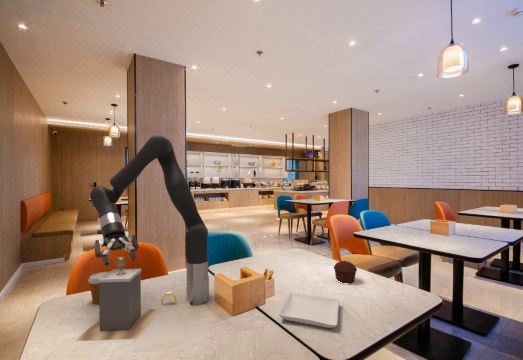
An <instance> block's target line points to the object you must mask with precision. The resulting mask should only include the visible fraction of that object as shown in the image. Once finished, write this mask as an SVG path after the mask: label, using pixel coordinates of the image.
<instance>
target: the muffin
mask: <svg viewBox="0 0 523 360" xmlns="http://www.w3.org/2000/svg"><path fill="white" fill-rule="evenodd" d="M333 269H334V274H335V280H336V279H337V280H338V281H340V282H342V283H352V282H354V283H355V281H356V273H357V272H358V269H357V267H356V266H355V264H354V263H352V262H350V261H348V260H340V261H338V262H336V263H335V264H334V266H333ZM337 280H336V281H337ZM338 281H337V282H338ZM342 283H341V284H342Z"/></svg>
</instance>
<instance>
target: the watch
mask: <svg viewBox="0 0 523 360" xmlns="http://www.w3.org/2000/svg"><path fill="white" fill-rule="evenodd" d="M166 296H173V299H174V303H173V305H176V302H177V295H176V294H175V293H173V291H171V290H169V291H166V292H165V293H164V294H163V296H162V297H161V299H160V302H161V303H160V304H161V305H162V306H164V305H165V303H164V301H163V299H164V297H166Z"/></svg>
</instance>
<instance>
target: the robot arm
mask: <svg viewBox="0 0 523 360" xmlns="http://www.w3.org/2000/svg"><path fill="white" fill-rule="evenodd" d="M156 159H157V161H158V163H159V165H160V167H161V170H162V173H163V179H164V184H165V188H166V191H167V195H168V196H169V198H170V201H171V202H172V204H173V206H174V207H175V209H176V211H178V213H179V214H180V216H181V218H182V219H183V221H184V222H183V223H184V225H185V228H186V233H185V234H184V235H185V236H184V237H185V238H184V239H185V240H184V241H185V243H184V244H185V245H184V246H185V251H184V252H185V258H186V259H185V260H186V301H187V302H189V304H190V305H193V306H194V305H195V306H196V305H200V304H201V305H202V304H207V303H208V301H209V297H210V287H209V286H210V276H209V255H208V238H209V230H208V228H207V226H206V224H205V223H204V220H203V219H202V217H201V214H200V213H199V210H198V208H197V205H196V202H195V198H194V196H193V193H192V191H191V188H190V186H189V183H188V181H187V179H186V177H185V175H184V173H183V171H182V169H181V167H180V165H179V163H178V160H177V157H176V154H175V150H174V147H173V144H172V142H171V141H170V139H168V138H167V137H165V136H163V135H161V134H155V135H152V136H151V137H149V138H148V140H147V141H146V142H145V143H144V145H143V146H142V147H141V148H140V150H139V151H138V152H137V153H136V154H135V155H134V156H133V158H131V160H130V161H129V162H128V163H126V165H125V166H123V167H122V168H121V169H120V170H118V171H117V173H115V175H113V176H112V177H111V178H110V180H109V183H110V185H111V186H112V187H113V188H112V189H110V188H108V187H105V186H103V185H97V186H94V187H93V188H92V189H91V191H90V194H89V195H90V196H89V198H90V201H91V203H92V206H93V207H94V209H95V210H96V212H97V214H98V217H99V226H100V231H101V235H102V239H103V240H99V239H96V240H95V241H94V245H93V246H94V247H93V248H94V255H95V258H96V259H97V258H101V260H102V263H103V266H105V267H110V260H109V255H108V254H109V253H110V251H112V252H113V251H117V250H119V251H120V250H124V251H127V252H128V253H129V257H130V260H131V262H134V261H136V259H137V254H136V251H138V250H139V247H140V245H139V243H138V240H137V237H136V235H135V234H132V235H131V236H127V235H126V232H125V228H124V225H123V222H122V218H121V216H120V212H119V209H118V206H117V205H116V203H117V202H119V200H120V199H121V197H122V195H123V194H124V192H125V190H126V189H127V188H129V186H131V184H133V183H134V182H135V181H136V180H137V179H138V177H140V175H141V173H143V171H144V169H146V167H147V166H148V165H149V164H150V163H152V162H153V161H155V160H156ZM128 241H129V242H128ZM102 245H103V246H104V247H105V249H104V250H103V251H101V247H102Z"/></svg>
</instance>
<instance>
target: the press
mask: <svg viewBox="0 0 523 360" xmlns="http://www.w3.org/2000/svg"><path fill="white" fill-rule="evenodd" d="M108 272H109V273H107V274H106V275H104V276H103V277H101V278H100V279H98V282H99V304H98V307H99V308H98V309H99V318H100V331H125V330H130V329H131V328H132V326H133V325H134V324H135V322H136V321H137V320H138V319H139V317H140V316H141V309H142V306H141V305H142V297H141V296H142V294H141V293H142V292H141V291H142V290H141V289H142V288H141V285H142V283H141V275H142V274H141V273H142V268H123V275H119V268H113V269H112V270H110V271H108Z"/></svg>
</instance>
